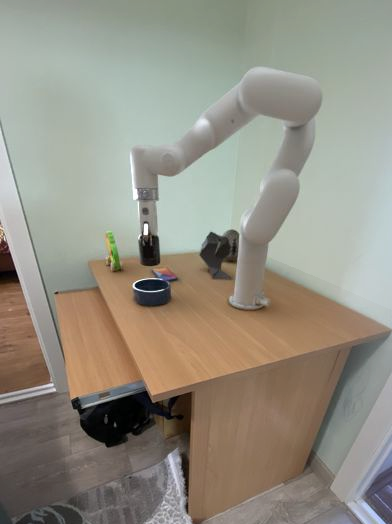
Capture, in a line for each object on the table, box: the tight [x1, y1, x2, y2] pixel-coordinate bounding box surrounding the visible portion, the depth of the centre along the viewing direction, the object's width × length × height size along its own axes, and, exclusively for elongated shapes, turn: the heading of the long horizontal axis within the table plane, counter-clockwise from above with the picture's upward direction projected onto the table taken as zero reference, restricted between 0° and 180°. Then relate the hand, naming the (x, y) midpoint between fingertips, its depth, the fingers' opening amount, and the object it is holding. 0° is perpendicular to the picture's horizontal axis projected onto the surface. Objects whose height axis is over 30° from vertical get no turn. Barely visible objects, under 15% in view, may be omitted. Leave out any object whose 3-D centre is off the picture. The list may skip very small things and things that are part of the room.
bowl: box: [132, 277, 172, 307], centre depth 106 cm, size 13×13×6 cm
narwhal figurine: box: [199, 231, 233, 280], centre depth 128 cm, size 14×15×18 cm
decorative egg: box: [221, 228, 239, 262], centre depth 145 cm, size 12×12×15 cm
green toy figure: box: [105, 231, 124, 272], centre depth 133 cm, size 16×5×15 cm, turn 25°
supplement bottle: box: [137, 232, 161, 267], centre depth 97 cm, size 7×7×12 cm
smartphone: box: [151, 266, 178, 282], centre depth 128 cm, size 7×15×1 cm, turn 23°
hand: (149, 254), depth 98 cm, fingers closed on supplement bottle, 6 cm apart
